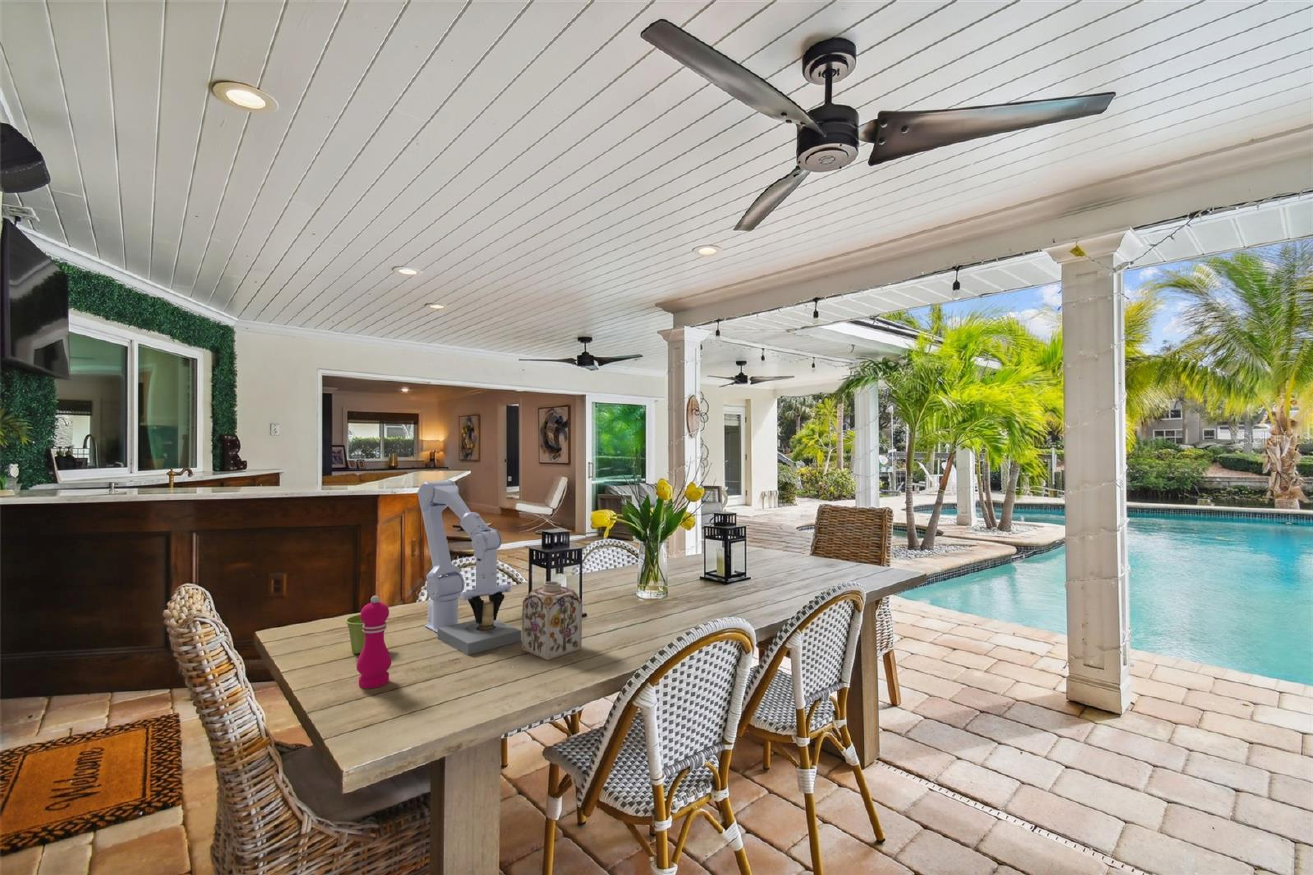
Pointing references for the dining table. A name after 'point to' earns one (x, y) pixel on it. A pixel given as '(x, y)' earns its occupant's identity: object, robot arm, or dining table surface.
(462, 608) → the dining table surface
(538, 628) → the decorative jar
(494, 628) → the grey peg hole board
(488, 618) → the oak peg
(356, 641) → the plant pot
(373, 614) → the pepper mill
